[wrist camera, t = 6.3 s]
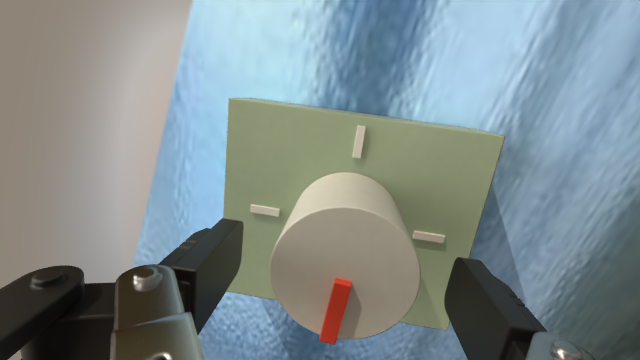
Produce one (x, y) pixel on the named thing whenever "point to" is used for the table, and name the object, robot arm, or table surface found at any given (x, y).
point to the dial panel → (366, 159)
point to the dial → (345, 260)
